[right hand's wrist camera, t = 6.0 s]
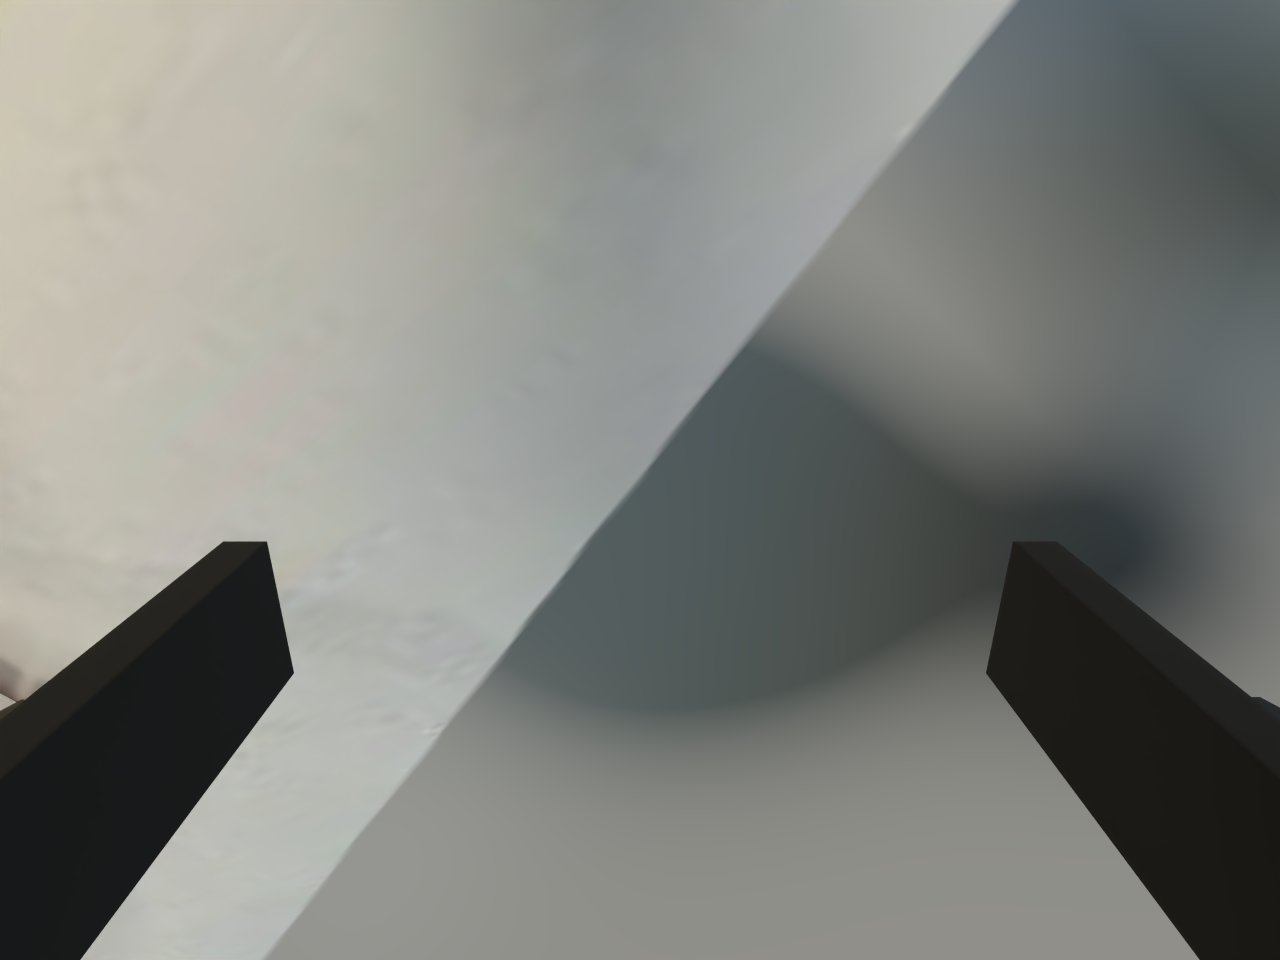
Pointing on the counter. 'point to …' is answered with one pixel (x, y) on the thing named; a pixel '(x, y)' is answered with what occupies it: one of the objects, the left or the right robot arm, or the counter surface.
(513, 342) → the counter surface
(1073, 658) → the right robot arm
